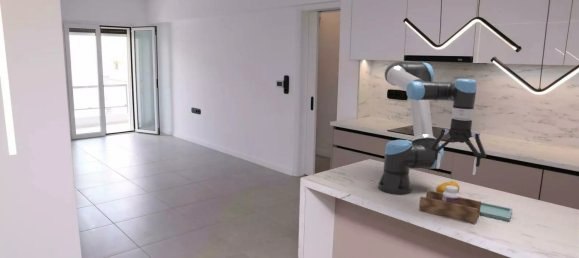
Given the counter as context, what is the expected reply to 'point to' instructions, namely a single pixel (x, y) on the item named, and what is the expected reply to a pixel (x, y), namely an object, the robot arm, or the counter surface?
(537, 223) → the counter surface
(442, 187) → the potato
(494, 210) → the tray
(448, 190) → the pill bottle
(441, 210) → the wooden shelf
